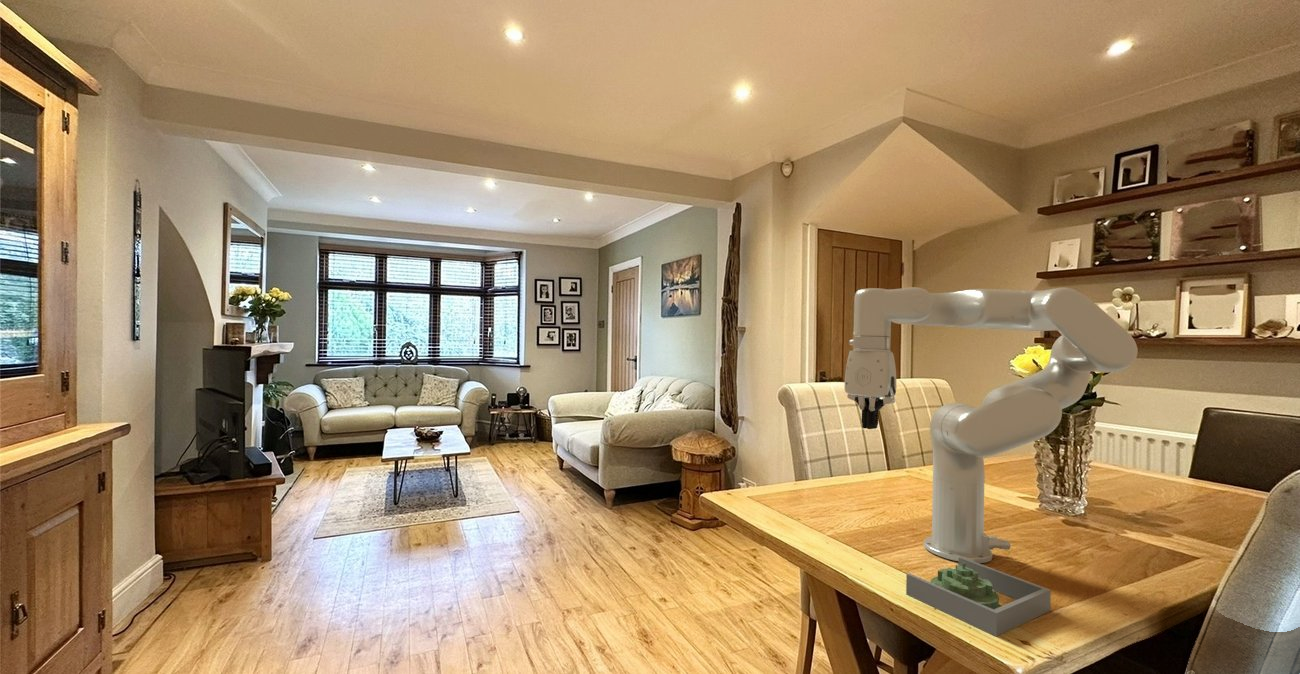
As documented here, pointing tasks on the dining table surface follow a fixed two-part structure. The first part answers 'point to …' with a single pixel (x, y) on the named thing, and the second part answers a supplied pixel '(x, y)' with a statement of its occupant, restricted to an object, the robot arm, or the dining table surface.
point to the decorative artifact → (967, 585)
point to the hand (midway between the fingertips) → (869, 428)
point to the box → (993, 621)
